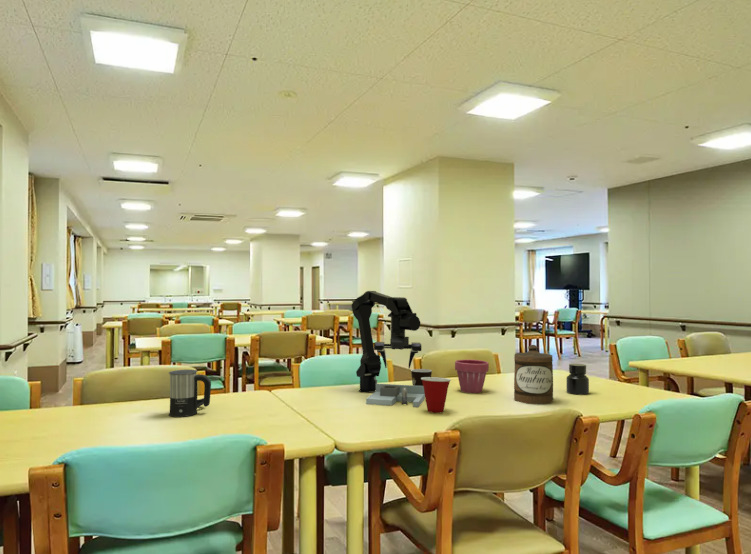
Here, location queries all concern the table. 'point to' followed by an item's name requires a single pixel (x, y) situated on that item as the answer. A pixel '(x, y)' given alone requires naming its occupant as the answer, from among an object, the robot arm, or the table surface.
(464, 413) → the table surface
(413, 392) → the grey walled base plate
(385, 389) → the square hollow frame
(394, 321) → the robot arm
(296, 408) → the table surface
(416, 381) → the coffee mug
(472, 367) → the plant pot
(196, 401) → the milk frother
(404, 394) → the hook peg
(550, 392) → the wooden container
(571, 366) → the ink bottle
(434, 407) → the plastic cup
